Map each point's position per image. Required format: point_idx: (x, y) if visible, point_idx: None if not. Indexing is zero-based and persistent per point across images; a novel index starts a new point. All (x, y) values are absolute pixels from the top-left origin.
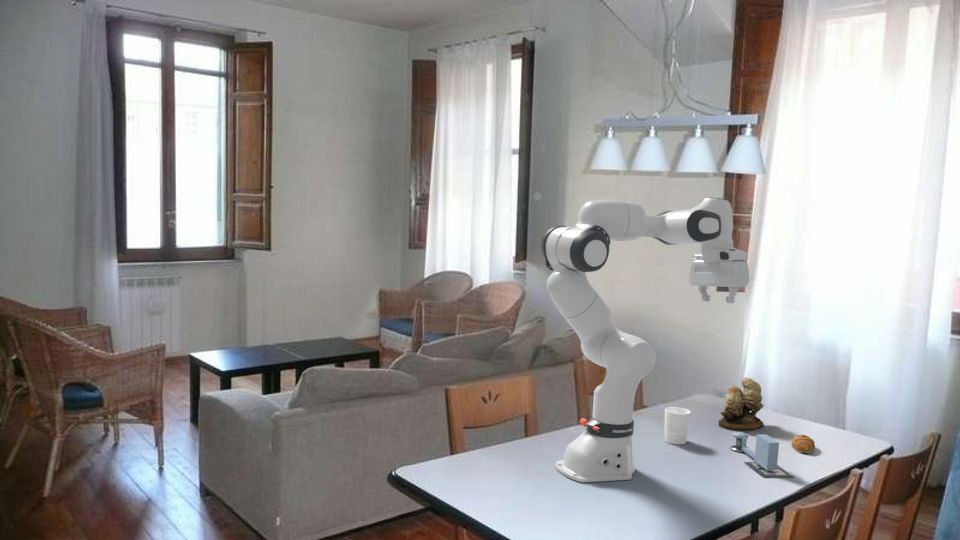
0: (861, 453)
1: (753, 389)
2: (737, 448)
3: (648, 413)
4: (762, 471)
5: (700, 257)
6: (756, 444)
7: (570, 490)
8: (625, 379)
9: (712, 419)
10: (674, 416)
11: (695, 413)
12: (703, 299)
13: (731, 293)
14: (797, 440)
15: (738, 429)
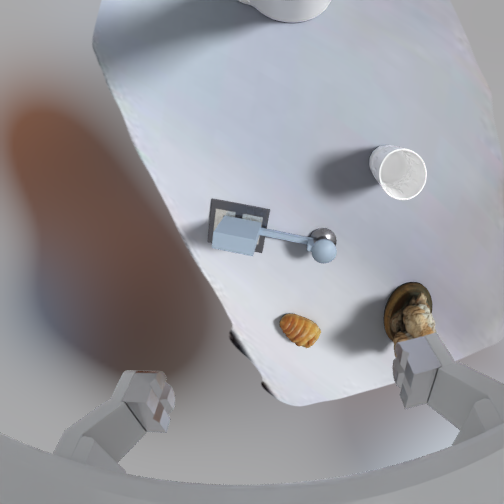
0: (269, 371)
1: None
2: (320, 236)
3: (498, 212)
4: (230, 211)
5: None
6: (255, 232)
7: None
8: None
9: (442, 291)
10: (386, 153)
11: (470, 284)
12: (424, 343)
13: (82, 418)
14: (303, 328)
15: (391, 296)
